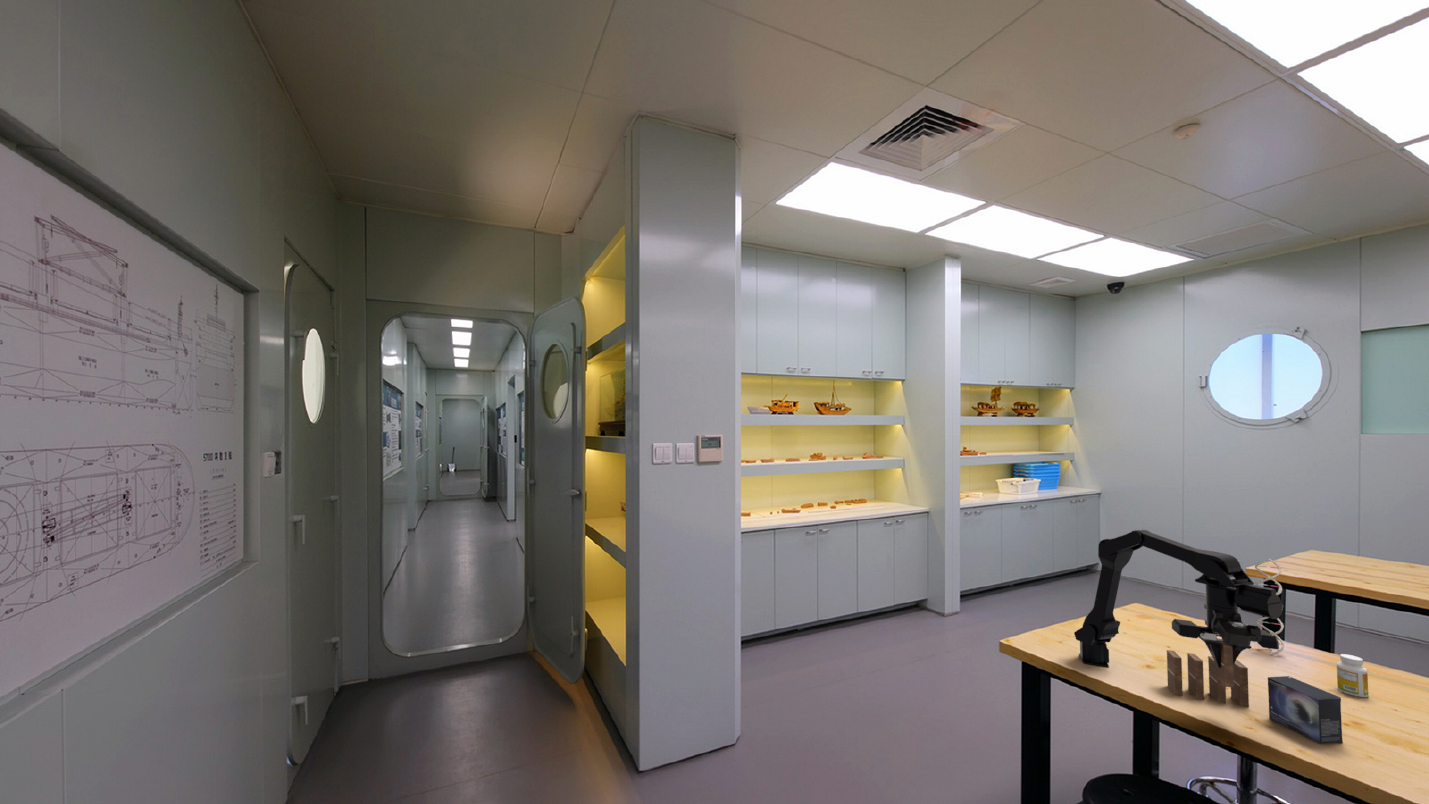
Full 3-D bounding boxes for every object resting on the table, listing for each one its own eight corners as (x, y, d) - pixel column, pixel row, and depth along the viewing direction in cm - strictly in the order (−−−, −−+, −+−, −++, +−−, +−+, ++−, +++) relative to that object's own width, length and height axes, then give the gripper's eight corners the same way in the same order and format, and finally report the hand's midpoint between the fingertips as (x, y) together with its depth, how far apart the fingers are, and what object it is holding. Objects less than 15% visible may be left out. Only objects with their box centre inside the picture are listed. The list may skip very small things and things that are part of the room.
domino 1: (1175, 694, 141) (1173, 657, 141) (1167, 686, 145) (1166, 649, 146) (1182, 695, 140) (1181, 658, 140) (1175, 687, 145) (1174, 650, 145)
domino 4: (1218, 702, 137) (1216, 663, 137) (1209, 693, 142) (1208, 655, 142) (1226, 703, 136) (1225, 664, 137) (1217, 694, 141) (1215, 657, 141)
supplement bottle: (1357, 689, 144) (1356, 654, 145) (1374, 699, 139) (1373, 662, 140) (1332, 686, 146) (1330, 651, 146) (1347, 695, 141) (1346, 659, 141)
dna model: (1284, 659, 163) (1281, 563, 165) (1255, 652, 168) (1252, 558, 170) (1286, 653, 167) (1283, 559, 169) (1258, 646, 172) (1254, 555, 174)
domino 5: (1240, 705, 135) (1239, 666, 136) (1231, 696, 140) (1229, 659, 140) (1249, 707, 135) (1247, 668, 135) (1239, 698, 139) (1237, 660, 140)
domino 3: (1225, 686, 128) (1223, 645, 128) (1215, 677, 132) (1214, 637, 133) (1234, 688, 127) (1232, 646, 127) (1223, 678, 131) (1222, 638, 132)
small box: (1266, 718, 129) (1265, 675, 130) (1290, 717, 130) (1288, 675, 130) (1319, 744, 119) (1317, 698, 119) (1344, 743, 119) (1342, 697, 120)
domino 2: (1196, 698, 139) (1195, 660, 139) (1188, 689, 143) (1187, 652, 144) (1204, 699, 138) (1203, 661, 139) (1195, 690, 143) (1194, 654, 143)
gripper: (1188, 609, 127) (1190, 674, 126) (1291, 621, 119) (1294, 691, 119) (1169, 596, 137) (1171, 656, 136) (1264, 606, 130) (1266, 670, 129)
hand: (1223, 668), depth 130 cm, fingers closed on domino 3, 2 cm apart
